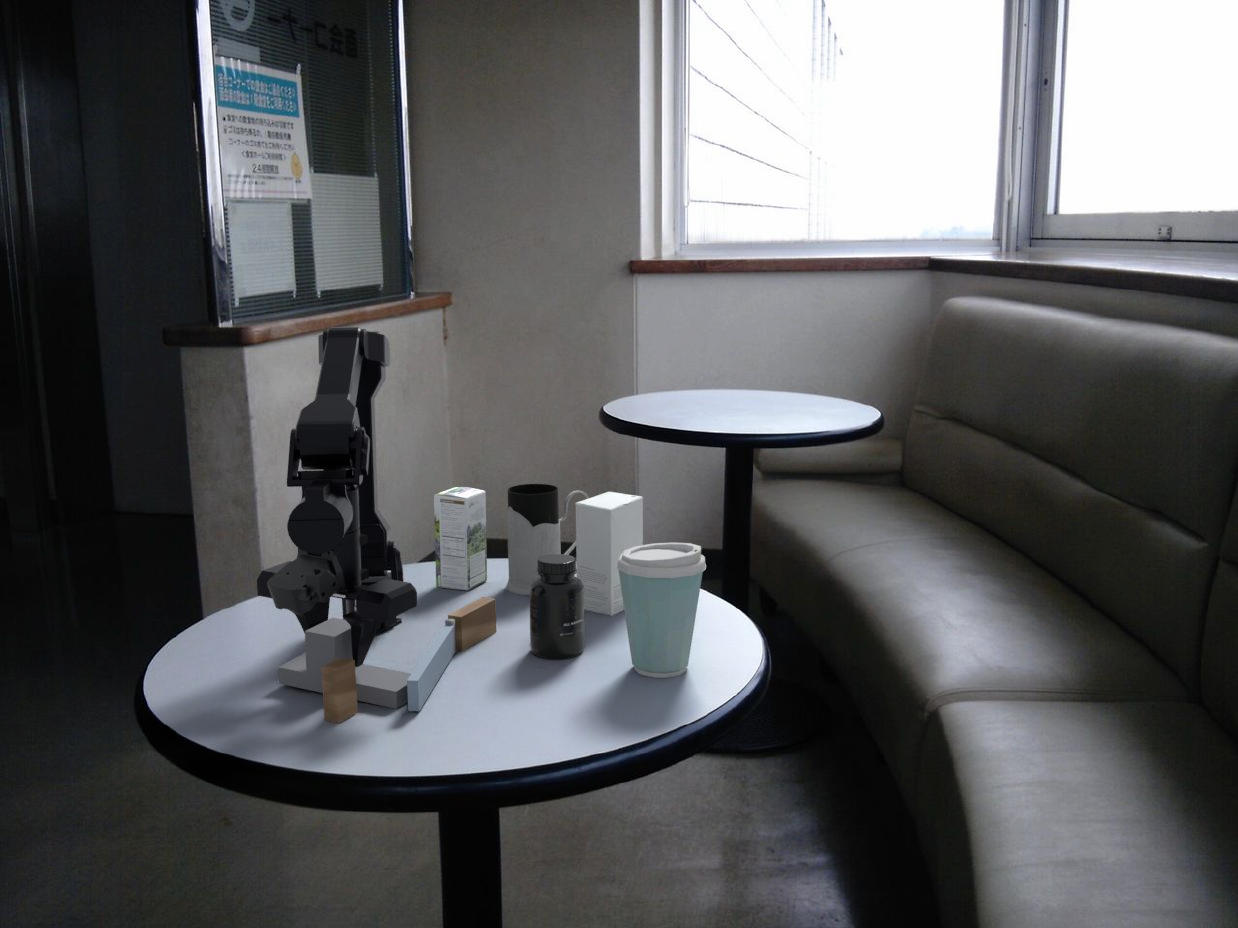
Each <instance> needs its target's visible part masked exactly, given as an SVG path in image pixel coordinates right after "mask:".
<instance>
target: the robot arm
mask: <svg viewBox="0 0 1238 928" xmlns="http://www.w3.org/2000/svg"><path fill="white" fill-rule="evenodd" d="M317 341H318V345H317V346H318V347H317V348H318V350H317V351H318V365H320V366H321V367H320V370H319V371H320V372H319V376H318V380H317V387H316V393H315V397H314V400H313V401H312V402H310V403H308V404H307V405H306V406H304V407H303V408H301V409H300V410H299V411H300V412H299V415H298V418H297V421H296V426H295V428H291V430H290V436H289V447H288V448H289V449H288V459H287V460H288V461H287V462H288V463H287V474H286V475H287V476H286V487H287V488H292V487H293V488H294V487H295V488H296V487H298V488H299V487H301V500H300V501H299V502H298V503H297V504H296V506H295V507H293V509H292V511H291V513H290V515H289V516H288V520H287V525H286V526H287V529H286V530H287V533H288V536H289V539H290V540H291V542H292V544H293V545H294V546H295V547H297V556H296V558H295V559H294V560H292V561H291V560H288V561H286V562H283V563H280V564H277V565H274V566H271V567H268V568H265V569H262V571H260V573H259V575H258V577H257V579H256V592H257V596H259V597H263V598H267V599H272V601H273V604H274V607H275V608H276V609H278V610H283V609H284V610H287V611H289V612H291V613H293V615H295V616H296V619H297V620H298V622H299V624H300V627H301V628H302V631H303V634H305V631H306V630H308V629H310V628H312V627H314V626H316V625H319V624H321V623H323V622H325V621H327V620H329V614H330V613H329V612H330V602H331V598H335V599H336V598H337V599H341V608H342V619H343V620H346V621H347V622H348V623H349V624H350V626H351V642H352V657H353V660H355V667H359V666H361V665H362V664H364V662H365V660H366V658H367V656H368V653H369V650H370V648H371V646H372V643H373V642H374V639H375V637H376V636H377V635H380V634H381V633H384V632H385V631H387V630H389V629H391V628H393V627H396V626H398V625H399V624H401V623H402V622H403V619H402V618H401V617H398V616H400V615H402V614H404V613H407V612H408V611H411V610H412V609H414V608H416V607H418V591H417V588H416V587H415V586H414V585H413V584H412V583H411V582H407V581H404V567H403V560H402V554H401V551H400V550H399V549H398V547H397V544H396V543H397V542H396V541H395V540H392V529H391V527H390V525H389V523H388V522H387V520H386V519H385V517H384V516H383V514H382V513H381V512H380V510H379V504H378V503H379V502H378V501H379V500H378V496H379V495H378V468H377V467H378V466H377V465H378V464H377V439H376V438H377V436H376V412H375V409H376V408H375V407H376V406H375V405H376V404H375V400H376V397H377V395H378V394H379V392H380V390H381V388H382V387H383V384H384V383H385V381H386V378H387V377H386V375H387V374H386V373H387V372H386V371H387V370H386V369H387V367H390V365H391V364H390V363H391V349H390V341H389V339H388V337H387V336H386V335H385V334H381V333H380V332H379V331H378V330H377V331H376V330H373V331H372V330H370V331H368V330H367V329H366V328H362V327H361V326H335V327H333V326H332V327H331V326H330V327H329V328H327V329H323V332H322V334H319V335H318V337H317ZM300 462H301V463H300ZM300 464H301V465H300ZM299 467H300V468H301V469H302V470H299Z"/></svg>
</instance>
